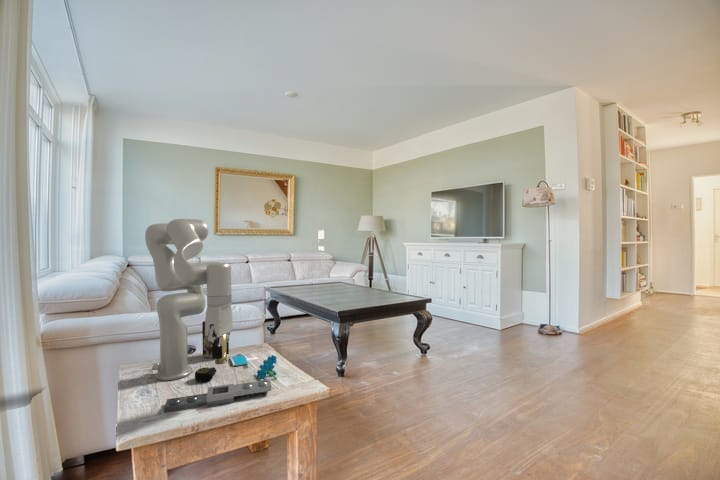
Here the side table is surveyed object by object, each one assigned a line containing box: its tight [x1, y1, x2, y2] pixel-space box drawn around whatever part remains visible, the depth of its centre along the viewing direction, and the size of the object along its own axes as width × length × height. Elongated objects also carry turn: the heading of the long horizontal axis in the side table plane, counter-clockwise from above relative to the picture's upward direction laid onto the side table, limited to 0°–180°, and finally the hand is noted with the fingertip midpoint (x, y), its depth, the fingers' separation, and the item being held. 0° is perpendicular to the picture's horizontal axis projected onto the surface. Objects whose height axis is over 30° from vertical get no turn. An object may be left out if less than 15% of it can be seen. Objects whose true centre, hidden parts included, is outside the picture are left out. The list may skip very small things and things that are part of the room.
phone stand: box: [229, 353, 260, 370], centre depth 151 cm, size 20×12×2 cm, turn 28°
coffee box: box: [201, 320, 213, 359], centre depth 158 cm, size 9×6×16 cm
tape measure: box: [194, 367, 217, 382], centre depth 131 cm, size 7×7×4 cm
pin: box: [214, 334, 228, 365], centre depth 114 cm, size 4×4×10 cm
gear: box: [256, 354, 278, 380], centre depth 133 cm, size 11×6×10 cm
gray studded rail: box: [163, 379, 272, 413], centre depth 114 cm, size 32×8×4 cm, turn 110°
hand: (220, 355), depth 114 cm, fingers closed on pin, 3 cm apart
